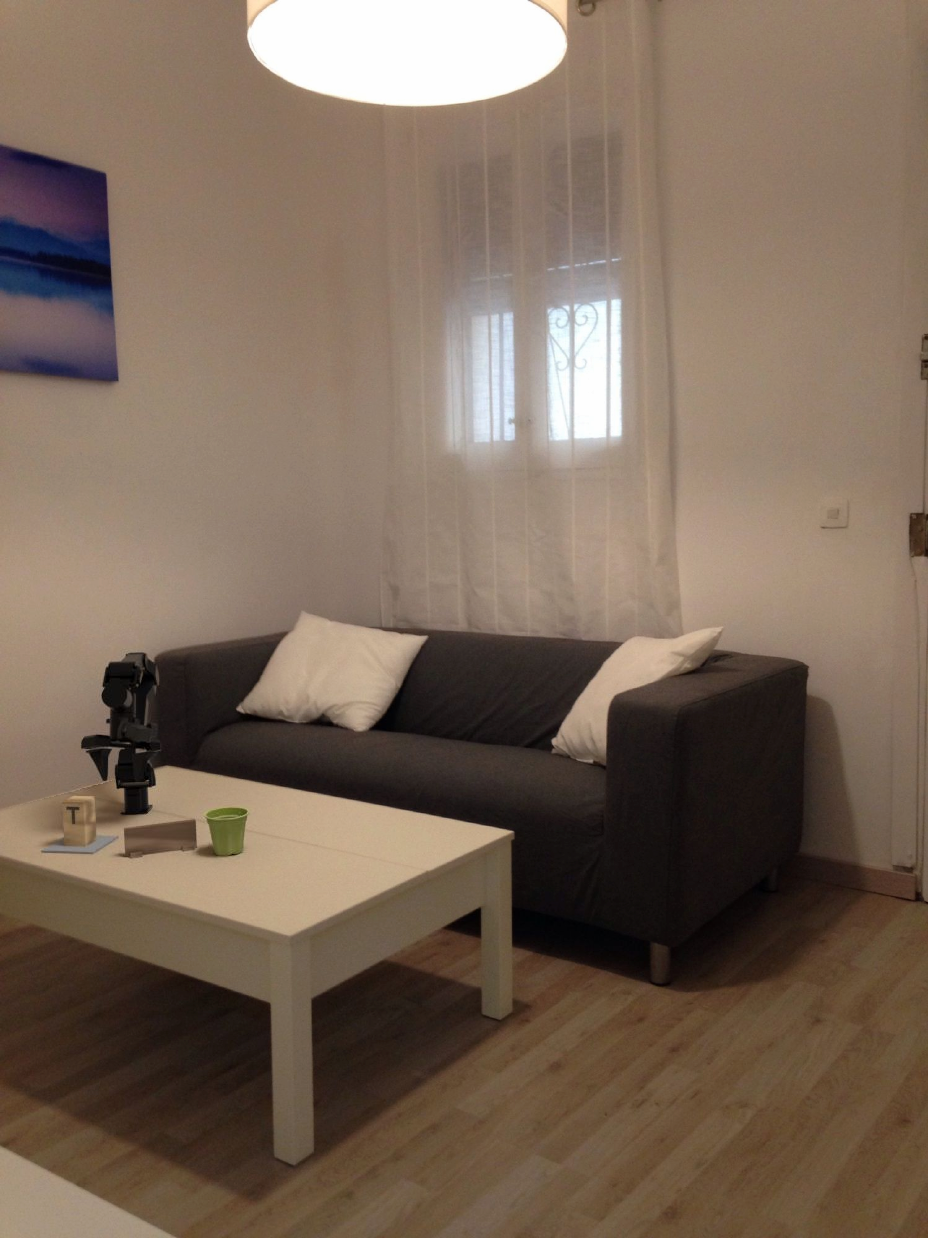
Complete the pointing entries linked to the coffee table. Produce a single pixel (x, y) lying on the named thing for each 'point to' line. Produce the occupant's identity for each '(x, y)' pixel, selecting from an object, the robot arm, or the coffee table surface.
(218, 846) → the plant pot
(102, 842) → the felt mat
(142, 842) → the walnut screen
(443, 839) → the coffee table surface
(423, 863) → the coffee table surface
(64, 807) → the letter block
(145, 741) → the robot arm
